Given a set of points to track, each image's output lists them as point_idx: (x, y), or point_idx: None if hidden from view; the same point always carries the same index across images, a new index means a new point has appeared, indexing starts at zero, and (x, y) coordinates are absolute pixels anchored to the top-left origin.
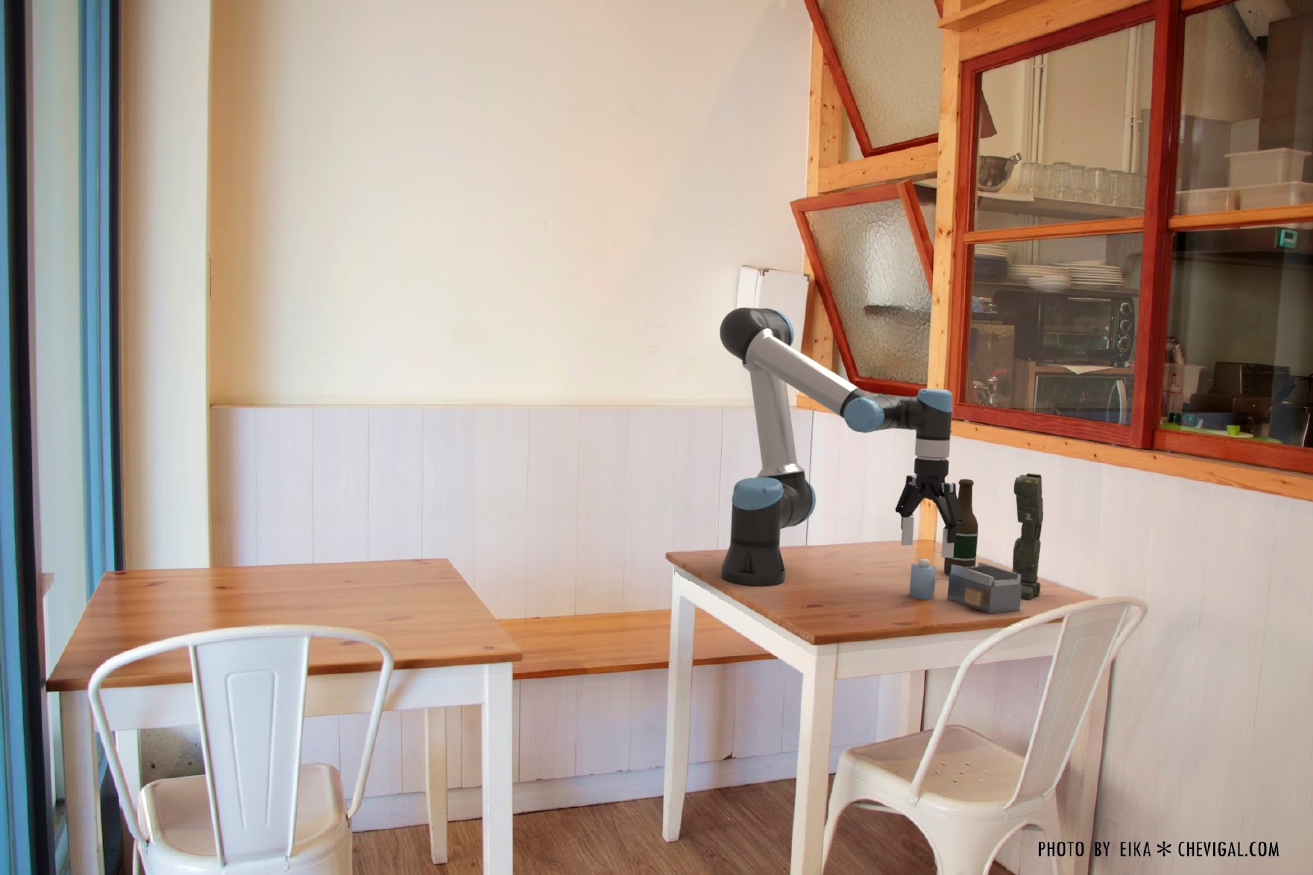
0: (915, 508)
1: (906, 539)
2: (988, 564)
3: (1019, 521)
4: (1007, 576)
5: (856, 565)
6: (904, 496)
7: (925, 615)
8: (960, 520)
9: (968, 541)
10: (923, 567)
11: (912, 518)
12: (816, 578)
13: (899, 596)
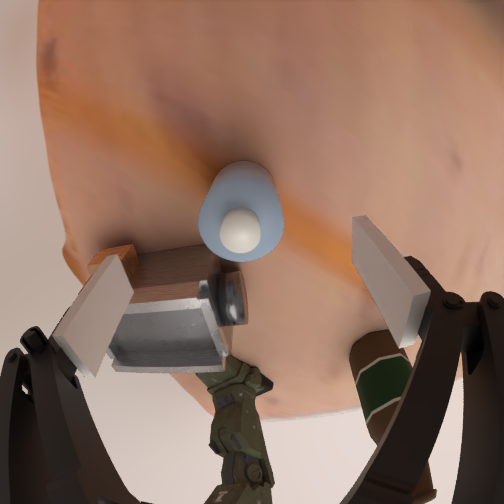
0: (402, 394)
1: (362, 244)
2: (198, 371)
3: (241, 484)
4: (136, 358)
5: (492, 205)
6: (499, 409)
7: (87, 121)
8: (32, 396)
9: (368, 404)
10: (224, 214)
11: (398, 336)
12: (441, 41)
13: (252, 131)
